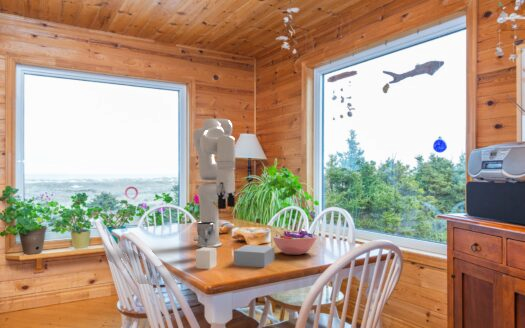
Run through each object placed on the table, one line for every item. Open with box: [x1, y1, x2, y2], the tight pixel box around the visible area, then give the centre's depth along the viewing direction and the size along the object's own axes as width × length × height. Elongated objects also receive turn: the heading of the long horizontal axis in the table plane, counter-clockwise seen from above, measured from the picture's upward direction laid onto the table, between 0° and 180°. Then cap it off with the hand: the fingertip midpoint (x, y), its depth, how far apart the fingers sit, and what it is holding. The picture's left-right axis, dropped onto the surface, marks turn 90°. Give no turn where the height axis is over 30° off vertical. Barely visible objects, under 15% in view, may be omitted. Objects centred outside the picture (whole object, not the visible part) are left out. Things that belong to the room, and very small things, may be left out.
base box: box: [233, 244, 276, 268], centre depth 158 cm, size 13×13×6 cm
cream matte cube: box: [195, 247, 218, 270], centre depth 151 cm, size 6×6×7 cm
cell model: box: [272, 228, 318, 256], centre depth 173 cm, size 17×20×11 cm
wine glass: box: [196, 221, 215, 247], centre depth 168 cm, size 8×8×15 cm
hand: (226, 207), depth 157 cm, fingers open, 9 cm apart
